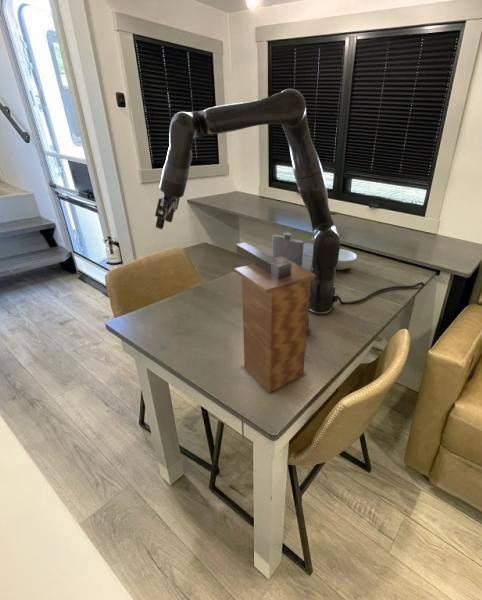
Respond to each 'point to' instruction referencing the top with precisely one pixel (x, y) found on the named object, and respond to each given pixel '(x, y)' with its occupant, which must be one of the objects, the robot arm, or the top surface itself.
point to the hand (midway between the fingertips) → (163, 224)
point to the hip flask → (288, 248)
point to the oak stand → (275, 323)
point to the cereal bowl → (345, 259)
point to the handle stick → (265, 260)
